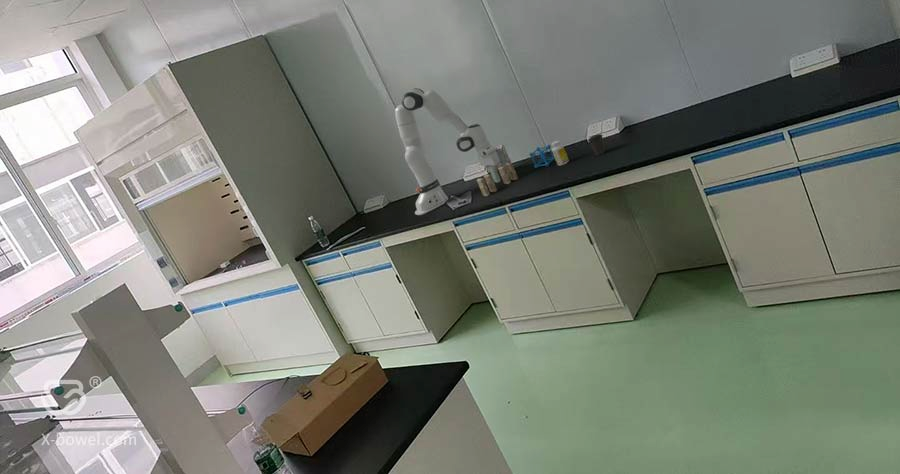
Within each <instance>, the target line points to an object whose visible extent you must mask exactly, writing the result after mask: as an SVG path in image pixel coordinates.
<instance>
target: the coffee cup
mask: <svg viewBox="0 0 900 474" xmlns="http://www.w3.org/2000/svg"><path fill="white" fill-rule="evenodd" d="M587 142H589V144H590V146H591V148H592V150H593V152H594V154H595V156H596V155H598V156H600V155H599V154H601V155H603V154H602V153H603V152H605V151H606V147H605V144H604V143H605V142H604V139H603V135H602V134H601V133H600V134H595V135H593V136H591V137H590V138H588V139H587ZM605 153H606V152H605Z"/></svg>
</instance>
